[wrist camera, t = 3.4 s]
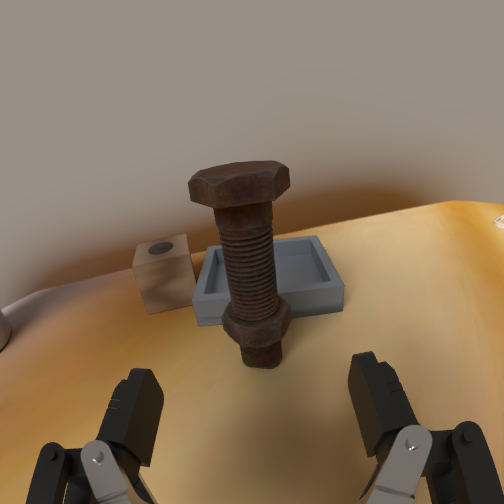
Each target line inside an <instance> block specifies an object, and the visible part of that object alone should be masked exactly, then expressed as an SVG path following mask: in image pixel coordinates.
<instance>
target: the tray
mask: <svg viewBox="0 0 504 504" xmlns="http://www.w3.org/2000/svg"><path fill="white" fill-rule="evenodd" d="M273 244H274V259H275V267H276V277H277V278H276V280H277V290H278V295H279V296H281V297H282V298H283V299H284V300H285V301H286V302H287V303H288V304H289V305H290V306H291V318H295V317H304V316H312V315H319V314H326V313H333V312H340V311H342V308H343V296H344V284H343V282H342V280H341V278H340V276H339V275H338V273H337V271H336V269H335V267H334V265H333V263H332V262H331V260H330V258H329V256H328V254H327V253H326V251H325V249H324V247H323V246H322V244H321V242H320V240H319V238H318V237H317V235H315V236H305V237H295V238H285V239H275V240H274V242H273ZM223 258H224V256H223V251H222V246H221V245H218V246H209V247H208V249H207V251H206V255H205V258H204V261H203V265H202V268H201V271H200V275H199V278H198V281H197V285H196V288H195V292H194V295H193V299H192V304H193V308H194V311H195V315H196V318H197V322H198V325H199V326H206V325H221V324H223V323H222V319H221V317H222V315H223V312H224V310H225V308H226V307H227V305H228V303H229V302H230V301H231V296H230V292H229V287H228V282H227V275H226V270H225V265H224V260H223Z"/></svg>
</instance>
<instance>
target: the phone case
mask: <svg viewBox="0 0 504 504" xmlns="http://www.w3.org/2000/svg"><path fill="white" fill-rule="evenodd" d="M499 219H501V220H502V219H504V215H502V216H501V217H499V218H497V219H496V220H494V225H496V226H498V227H500V228H503V229H504V224H502V223H500V222H498V221H497V220H499Z"/></svg>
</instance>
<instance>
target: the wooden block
mask: <svg viewBox="0 0 504 504" xmlns="http://www.w3.org/2000/svg"><path fill="white" fill-rule="evenodd" d="M132 268H133V272H134V275H135V278H136V281H137V284H138V287H139V289H140V292H141V295H142V298H143V301H144V303H145V306H146V309H147V311H148V314H153V313H158V312H162V311H167V310H172V309H176V308H181V307H185V306H190V305H193V304H192V299H193V295H194V292H195V288H196V285H197V282H196V277H195V273H194V269H193V264H192V260H191V255H190V251H189V246H188V242H187V237H186V234H181V235H177V236H172V237H168V238H163V239H159V240H154V241H150V242H146V243H141V244H138V245H137V249H136V252H135V256H134V260H133V264H132Z"/></svg>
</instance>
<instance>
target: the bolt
mask: <svg viewBox="0 0 504 504" xmlns="http://www.w3.org/2000/svg"><path fill="white" fill-rule="evenodd" d="M188 186H189V193H190V199H191V201H192V202H196V203H199V204H202V205H205V206H209V207H212V208H213V209H214V215H215V221H216V225H217V227H218V228H219V231H220V232H219V235H220V240H221V246H222V251H223V256H224V258H223V260H224V265H225V270H226V275H227V282H228V287H229V292H230V296H231V301H230V302H229V303H228V305H227V307H226V308H225V310H224V312H223V315H222V317H221V319H222V323H223V327H224V330H225V331H226V332H227V334H228V335H229V336H230V337H231V338H232V339H233V340H234V341H235V342H236V343H238V344H239V345H240V350H241V355H242V360H243V362H244V364H245V365H246V366H248V367H254V368H264V369H272V368H275V367H276V366H277V365H278V364H279V363H280V362H279V360H281V358H282V351H281V339H282V338H283V337H284V335H285V333H286V332H287V329H288V326H289V323H290V320H291V306H290V305H289V304H288V303H287V302H286V301H285V300H284V299H283V298H282V297H281V296H279V295H278V290H277V280H276V278H277V277H276V267H275V259H274V244H273V242H274V240H273V233H272V231H273V229H272V219H273V212H272V201H275V200H276V199H277V198H278V197H279V196H281V195H282V194H283V193H284V192H285V191H286V190H287V189H288V188H289V187H290V177H289V168H287V167H286V166H285V165H283V164H281V163H279V162H277V161H249V162H236V163H230V164H225V165H220V166H215V167H211V168H208V169H204V170H200V171H198V172H197V173H196V174H195V175H193V176H192V178H191V179H190V180H189V182H188Z"/></svg>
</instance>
